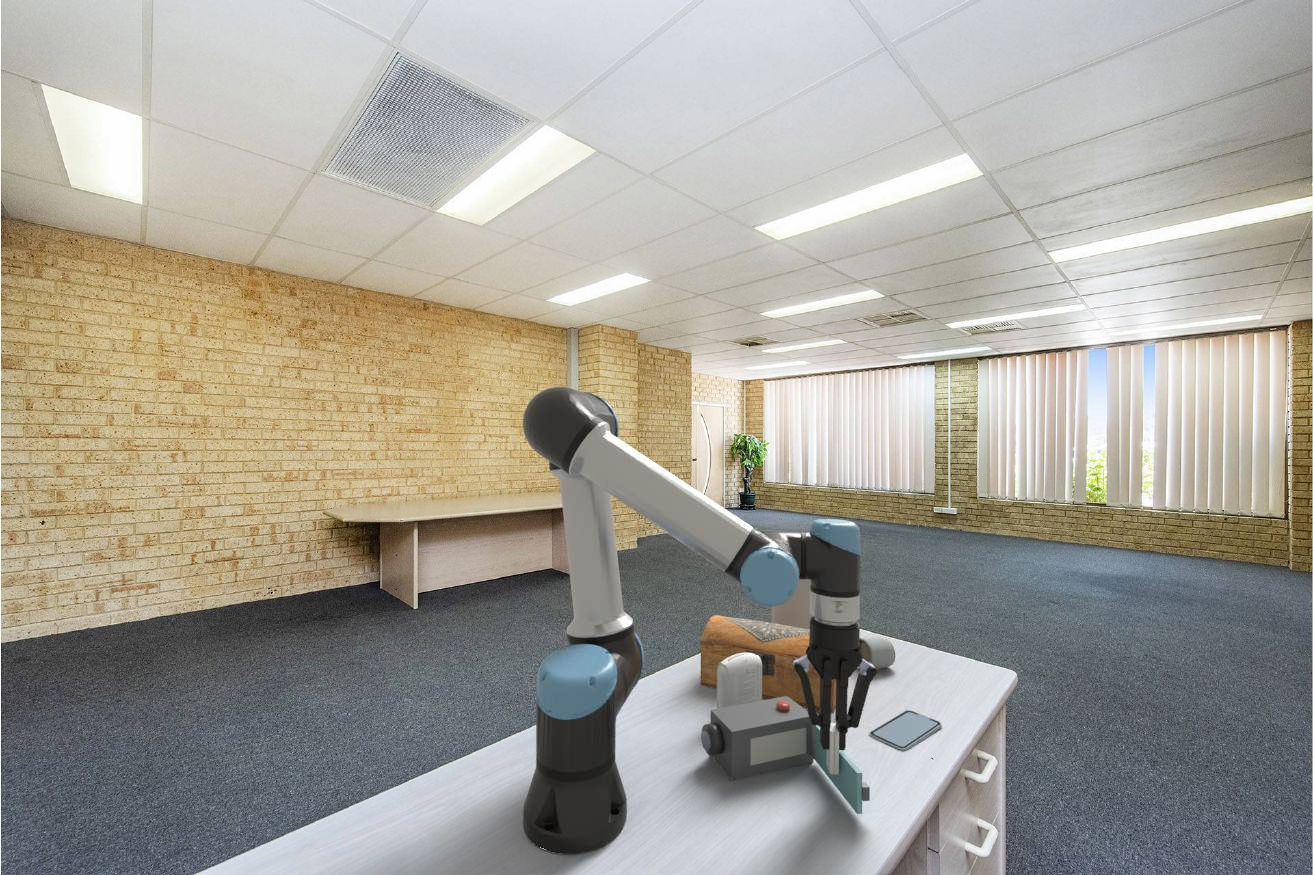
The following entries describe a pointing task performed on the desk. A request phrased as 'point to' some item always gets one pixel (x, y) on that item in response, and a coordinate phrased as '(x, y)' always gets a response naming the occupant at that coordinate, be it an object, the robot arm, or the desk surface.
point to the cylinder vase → (795, 608)
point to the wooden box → (761, 655)
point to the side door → (843, 775)
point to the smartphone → (905, 730)
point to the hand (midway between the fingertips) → (832, 768)
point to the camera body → (759, 737)
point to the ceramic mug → (877, 651)
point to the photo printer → (739, 680)
